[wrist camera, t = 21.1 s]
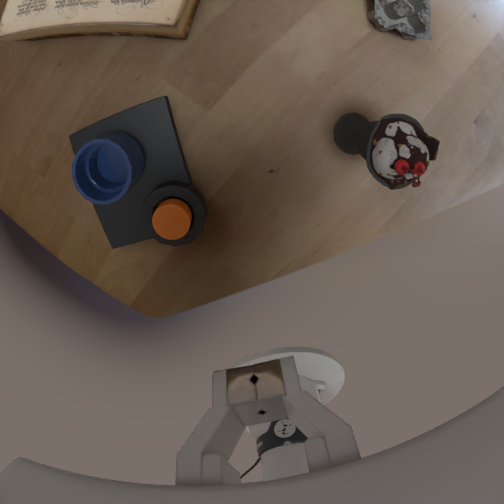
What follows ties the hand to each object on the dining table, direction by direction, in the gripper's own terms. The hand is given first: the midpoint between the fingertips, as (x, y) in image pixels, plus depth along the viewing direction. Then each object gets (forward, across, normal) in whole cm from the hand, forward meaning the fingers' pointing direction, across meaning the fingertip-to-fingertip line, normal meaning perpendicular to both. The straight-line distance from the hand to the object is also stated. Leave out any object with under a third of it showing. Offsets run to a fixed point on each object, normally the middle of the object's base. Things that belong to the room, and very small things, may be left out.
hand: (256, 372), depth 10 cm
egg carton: (+25, -23, -20) cm, 39 cm away
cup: (+23, +12, -6) cm, 27 cm away
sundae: (+25, -14, -3) cm, 29 cm away
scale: (+25, +11, -4) cm, 27 cm away
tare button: (+22, +7, +1) cm, 23 cm away
